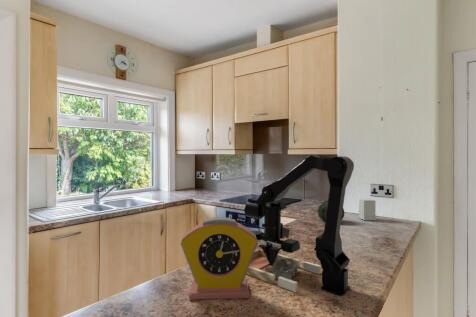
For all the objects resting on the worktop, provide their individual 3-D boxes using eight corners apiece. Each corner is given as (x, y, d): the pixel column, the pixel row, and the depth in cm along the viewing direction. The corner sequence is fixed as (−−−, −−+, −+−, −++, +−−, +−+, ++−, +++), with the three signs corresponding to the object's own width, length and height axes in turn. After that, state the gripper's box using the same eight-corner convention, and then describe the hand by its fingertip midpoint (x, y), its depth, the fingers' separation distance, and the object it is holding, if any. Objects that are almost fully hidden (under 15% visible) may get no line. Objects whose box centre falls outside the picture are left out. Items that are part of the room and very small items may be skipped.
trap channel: (299, 266, 99) (299, 259, 99) (272, 283, 86) (272, 275, 86) (258, 254, 111) (258, 248, 111) (229, 267, 98) (229, 260, 98)
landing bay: (321, 273, 94) (321, 265, 94) (295, 292, 80) (295, 283, 80) (304, 268, 98) (304, 261, 98) (277, 285, 84) (278, 277, 84)
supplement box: (375, 221, 168) (376, 200, 168) (363, 221, 168) (363, 200, 168) (370, 218, 176) (370, 198, 175) (358, 218, 176) (358, 198, 176)
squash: (324, 208, 180) (319, 192, 171) (348, 212, 171) (344, 196, 163) (318, 226, 171) (312, 210, 163) (342, 231, 163) (338, 215, 154)
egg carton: (280, 266, 100) (280, 255, 100) (300, 271, 96) (300, 259, 96) (267, 277, 91) (267, 265, 91) (289, 283, 87) (289, 270, 87)
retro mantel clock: (179, 300, 76) (179, 222, 75) (183, 284, 85) (183, 215, 85) (258, 298, 77) (259, 221, 77) (255, 283, 86) (255, 214, 86)
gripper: (307, 221, 96) (307, 265, 96) (264, 213, 108) (263, 252, 108) (291, 227, 88) (290, 276, 88) (245, 218, 100) (245, 261, 100)
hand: (271, 265), depth 96 cm, fingers closed
